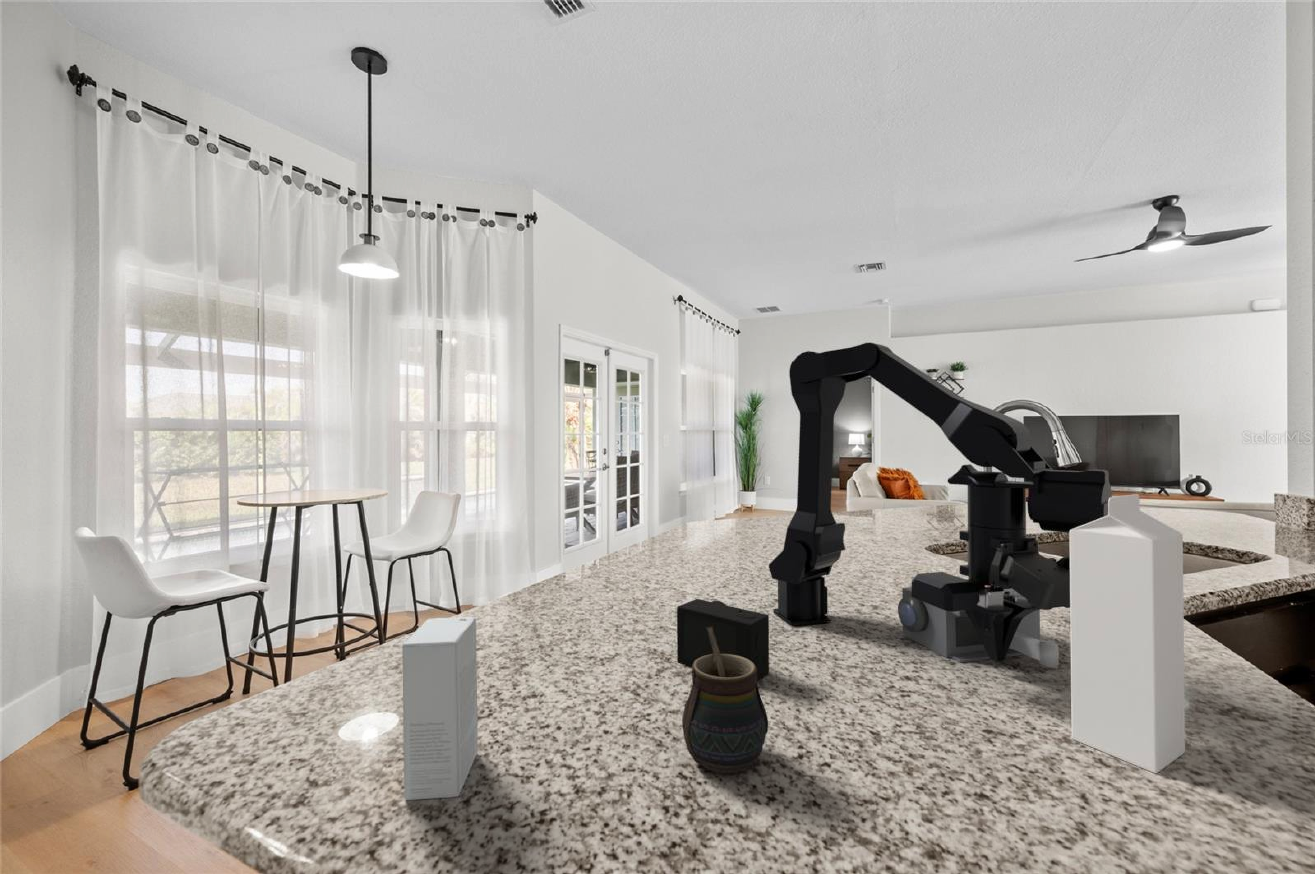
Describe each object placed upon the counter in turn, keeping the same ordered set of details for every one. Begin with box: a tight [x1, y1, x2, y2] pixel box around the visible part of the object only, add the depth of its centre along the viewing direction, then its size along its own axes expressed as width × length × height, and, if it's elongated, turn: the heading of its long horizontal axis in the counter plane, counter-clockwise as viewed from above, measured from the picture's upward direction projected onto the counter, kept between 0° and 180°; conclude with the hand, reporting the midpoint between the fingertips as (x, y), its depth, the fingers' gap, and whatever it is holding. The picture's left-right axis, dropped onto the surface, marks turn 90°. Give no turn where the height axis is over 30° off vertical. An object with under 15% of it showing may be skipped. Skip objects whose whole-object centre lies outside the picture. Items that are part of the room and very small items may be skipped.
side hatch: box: [1009, 609, 1060, 669], centre depth 65 cm, size 6×7×5 cm
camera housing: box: [897, 586, 1026, 663], centre depth 71 cm, size 16×10×7 cm, turn 103°
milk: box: [1068, 493, 1186, 774], centre depth 47 cm, size 6×6×22 cm
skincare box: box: [401, 616, 479, 801], centre depth 44 cm, size 6×4×12 cm
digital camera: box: [676, 598, 770, 683], centre depth 65 cm, size 10×5×7 cm, turn 50°
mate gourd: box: [681, 627, 769, 775], centre depth 46 cm, size 7×8×10 cm
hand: (996, 661), depth 62 cm, fingers closed
